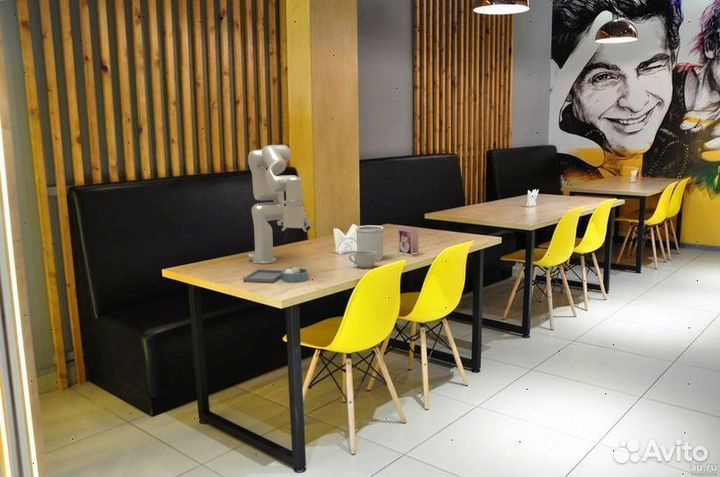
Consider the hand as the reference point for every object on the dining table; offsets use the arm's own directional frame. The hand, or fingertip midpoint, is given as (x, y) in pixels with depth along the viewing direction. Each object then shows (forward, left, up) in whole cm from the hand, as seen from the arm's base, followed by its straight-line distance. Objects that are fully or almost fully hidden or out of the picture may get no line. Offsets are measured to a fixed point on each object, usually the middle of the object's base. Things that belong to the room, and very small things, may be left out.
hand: (295, 239), depth 303 cm
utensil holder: (+26, +48, -19) cm, 58 cm away
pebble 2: (0, 0, -16) cm, 16 cm away
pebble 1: (-2, -5, -16) cm, 17 cm away
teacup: (+26, +28, -19) cm, 43 cm away
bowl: (0, -3, -19) cm, 19 cm away
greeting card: (+45, +64, -19) cm, 81 cm away
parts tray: (-15, -3, -19) cm, 24 cm away
